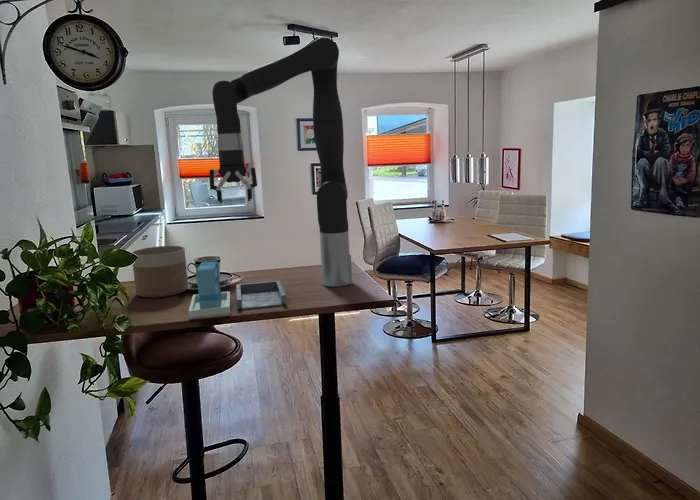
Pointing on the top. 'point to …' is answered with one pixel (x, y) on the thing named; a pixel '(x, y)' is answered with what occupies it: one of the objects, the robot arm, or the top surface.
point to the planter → (160, 271)
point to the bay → (260, 295)
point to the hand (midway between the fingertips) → (235, 202)
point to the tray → (210, 312)
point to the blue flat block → (209, 285)
